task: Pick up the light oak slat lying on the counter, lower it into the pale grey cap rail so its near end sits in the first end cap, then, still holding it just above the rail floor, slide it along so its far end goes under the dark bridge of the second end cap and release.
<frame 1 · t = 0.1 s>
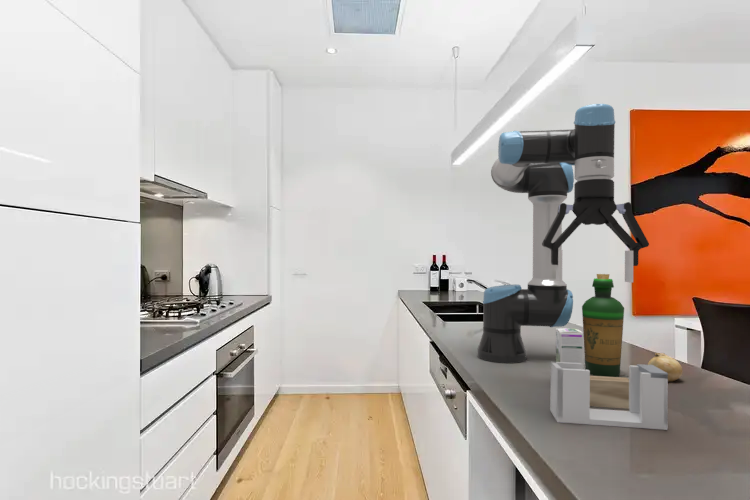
hand: (593, 281, 94), 28 cm above the countertop, fingers open, 13 cm apart
bottle: (602, 375, 125), on the countertop
syrup box: (569, 388, 113), on the countertop
slat: (595, 404, 101), on the countertop
tan round lump: (664, 380, 121), on the countertop
cap rail: (605, 419, 91), on the countertop
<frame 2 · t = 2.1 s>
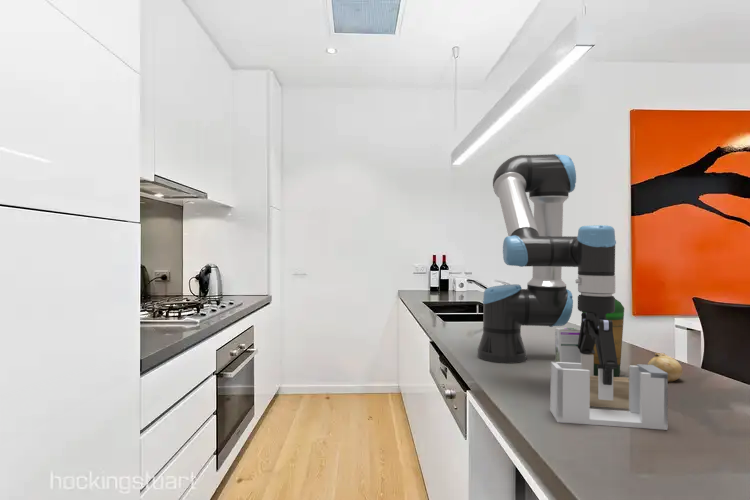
hand: (595, 390, 100), 3 cm above the countertop, fingers open, 12 cm apart
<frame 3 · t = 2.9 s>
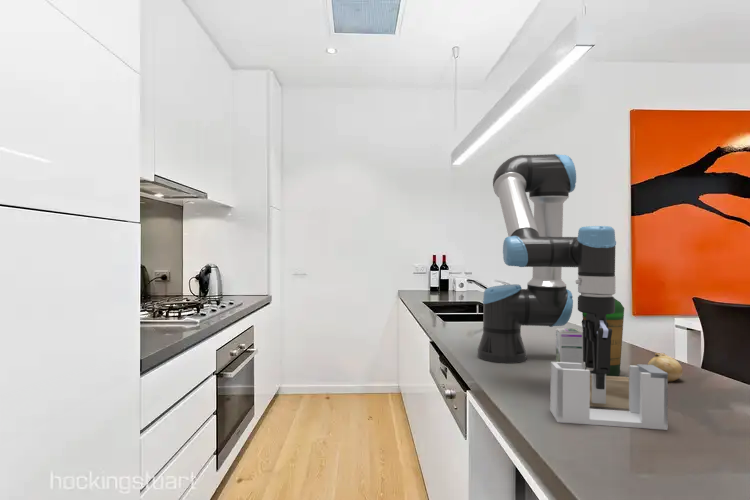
hand: (595, 399, 100), 1 cm above the countertop, fingers closed on slat, 3 cm apart
slat: (595, 404, 100), on the countertop, touching gripper
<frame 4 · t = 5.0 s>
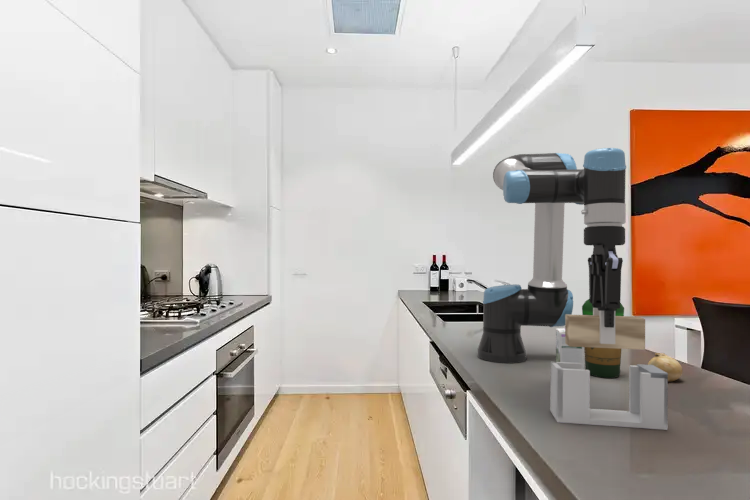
hand: (603, 341, 91), 16 cm above the countertop, fingers closed on slat, 3 cm apart
slat: (603, 346, 91), point 15 cm above the countertop, touching gripper
everything else where it was.
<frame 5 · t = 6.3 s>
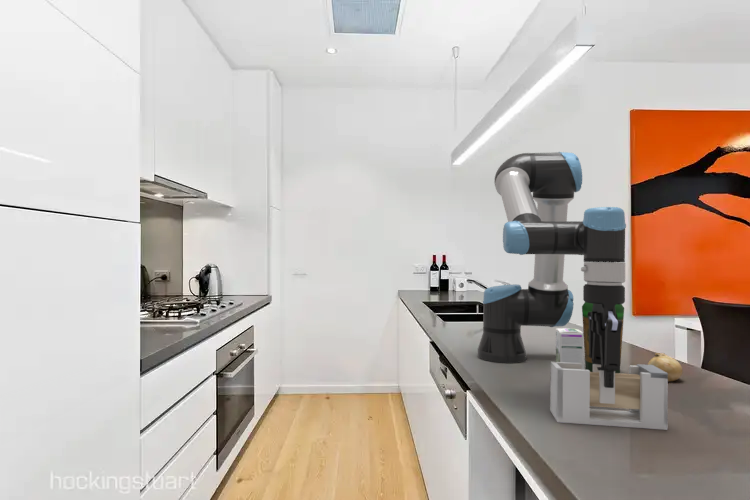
hand: (603, 399, 91), 4 cm above the countertop, fingers closed on slat, 3 cm apart
slat: (603, 404, 91), point 3 cm above the countertop, touching gripper
everything else where it was.
when the fingers open (3 cm above the countertop, at t = 7.2 s): slat drops 1 cm, resting on cap rail.
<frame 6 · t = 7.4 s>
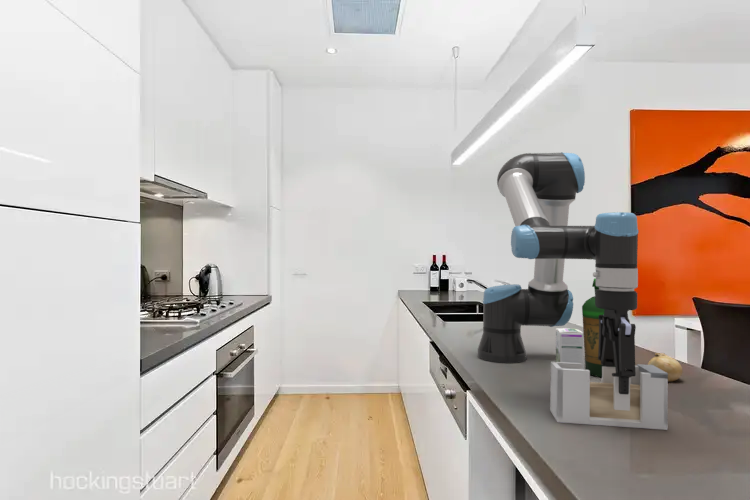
hand: (615, 403, 91), 3 cm above the countertop, fingers open, 6 cm apart
slat: (615, 415, 91), point 1 cm above the countertop, touching cap rail
everything else where it was.
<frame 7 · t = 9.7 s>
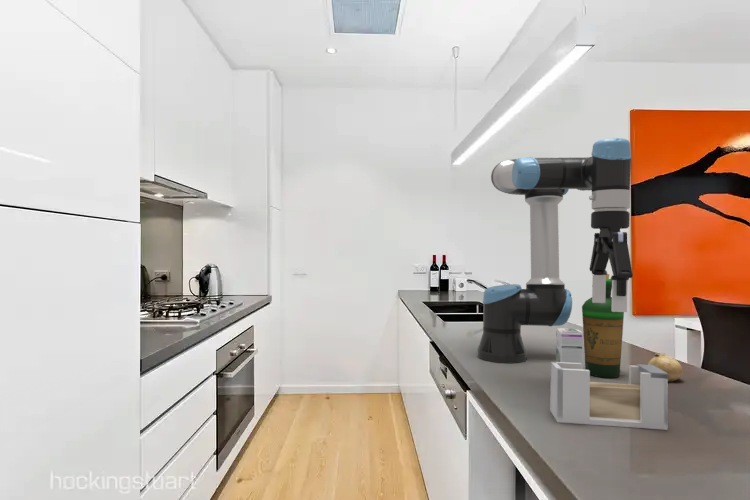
hand: (608, 307, 99), 22 cm above the countertop, fingers open, 13 cm apart
nothing on the countertop moved.
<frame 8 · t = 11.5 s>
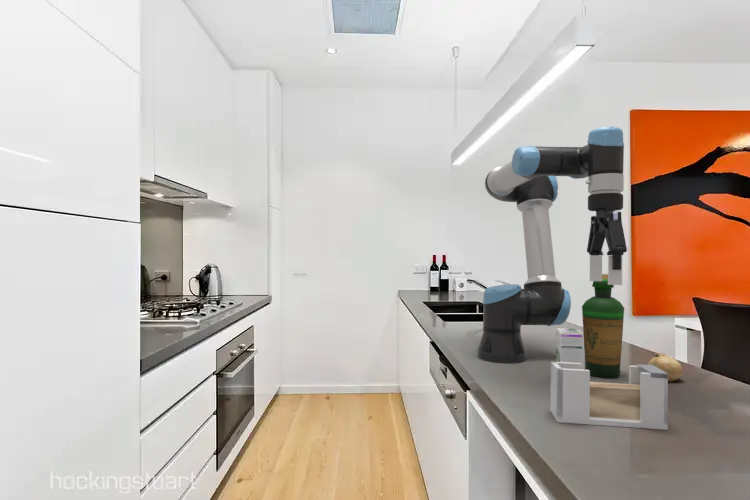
hand: (604, 283, 107), 27 cm above the countertop, fingers open, 13 cm apart
nothing on the countertop moved.
at the end: slat 0.0 cm from the target spot on the cap rail, point 1.0 cm above the cap rail's base; slat tilted 0°; the gripper is holding nothing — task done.
